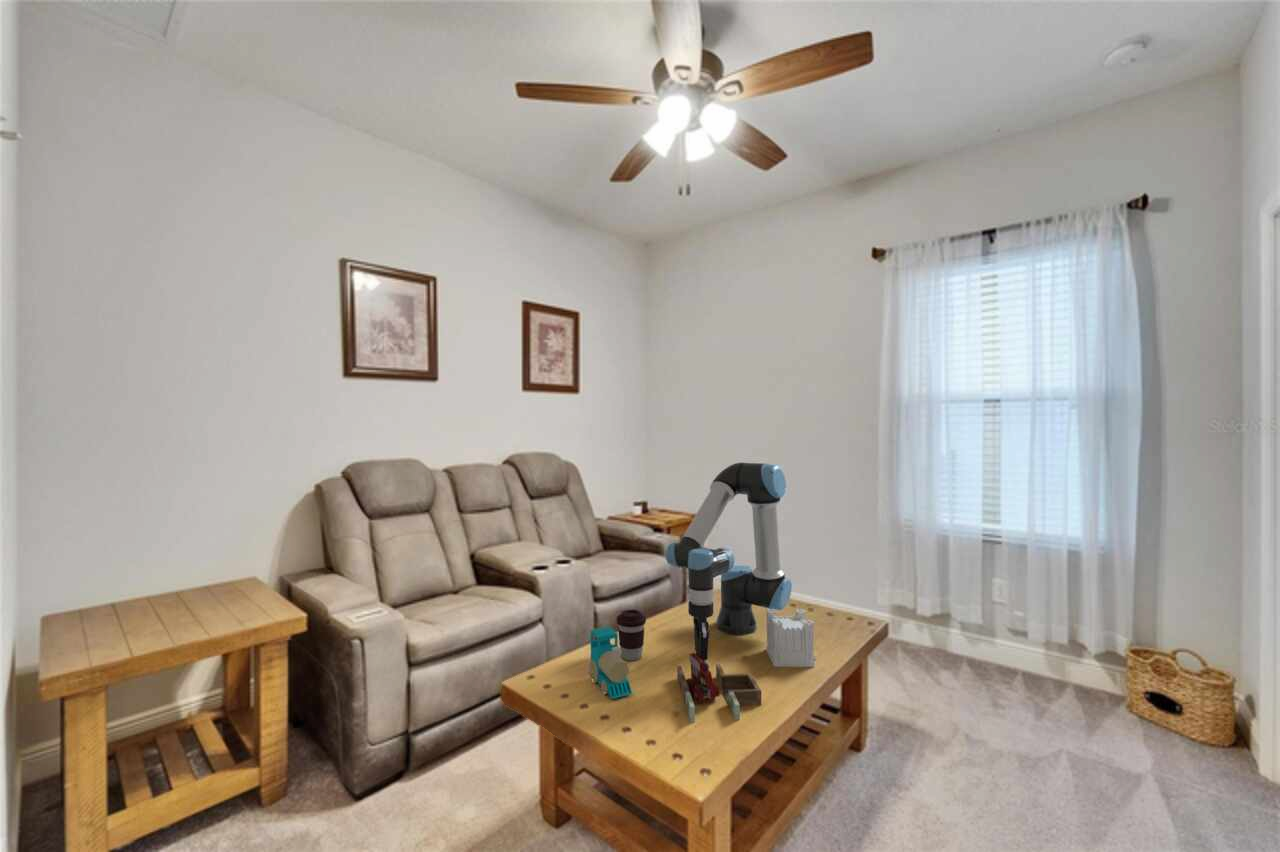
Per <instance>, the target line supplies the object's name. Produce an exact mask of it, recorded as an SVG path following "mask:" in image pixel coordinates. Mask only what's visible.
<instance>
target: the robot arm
mask: <svg viewBox="0 0 1280 852" xmlns="http://www.w3.org/2000/svg"><path fill="white" fill-rule="evenodd" d="M786 480H787V479H786V477H785V473H784V471H783V469H781V467H780V466H778V465H777V464H770V463H759V462H758V463H756V462H755V463H754V462H736V463H733V464H730V465H729V466H727V467H726V468H724V469H723V470H721V472H719V473H718V475H716V476H715V477H714V479H713V480H712V482H711V483H710V486H709V489H710V491H709V493H708V495H707V496H706V497H705V499H704V501H703V502H702V504H701V506H700V507H699V509H698V511H697V512H696V514H695V516H694V517H693V518H692V521H691V522H690V524H689V526H688V527H687V529H686V530H685V532H684V534H683V536H682V537H681V539H680V540H679V542H671V543H669V545H667V547H666V550H665V561H666V562H667V564H668V565H670V566H673V567H676V568H680V569H681V568H683V569H687V570H688V571H687V573H688V574H687V575H688V590H687V591H686V594H687V595H688V606H687V607H688V611H687V612H688V614H689V616H691V617H693V618H692V621H693V631H694V633H693V634H694V635H693V636H694V651H695V654H696V655H697V656H699V657H700V658H701V659H702V660H703V661H704V663H707V660H708V656H709V655H708V652H709V637H710V631H708V630H709V621H708V618H711V617H712V616H714V597H715V595H714V589H715V588H714V578H717V577H718V576H720V601H721V603H720V604H721V605H720V609H719V613H718V615H717V617H716V627H717V629H718V630H719V631H721V632H723V633H727V634H730V635H747V634H751V633H755V632H756V630H757V620H756V617H755V614H754V611H753V607H752V606H757V607H760V608H765V609H770V610H771V609H774V610H775V611H782V610H783V609H785V608H786V606H787V605H788V603H789V601H790V598H791V595H792V587H793V586H792V581H791V580H790V579H789V578H786V576H785V574H786V573H785V570H784V569H783V568H782V567H781V563H780V549H779V548H780V546H779V545H780V544H779V543H780V542H779V530H778V529H779V528H778V527H779V526H778V513H777V512H778V511H777V505H778V504H779V503H780V501H781V498H782V497H784V495H785V493H786V487H787V482H786ZM737 495H746V497H747V503H749V504H750V505H751V509H752V522H753V523H752V524H753V536H754V537H753V539H754V554H755V555H754V556H755V567H754V569H753V568H752V567H751V566H749V565H734V564H735V556H734V554H733V552H732V551H731V550H729V548H726V547H718V548H716V549H711V548H708V547H704V545H705V543H706V542H707V540H708V538H709V537H710V534H711V533H712V531H713V529H714V527H715V526H716V524H717V522H718V521H719V519H720V517H721V515H722V513H724V511H725V508H726V506H727V505H728V503H729V502H731V501H733V500H734V498H735V497H736V496H737Z"/></svg>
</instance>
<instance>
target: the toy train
mask: <svg viewBox="0 0 1280 852" xmlns="http://www.w3.org/2000/svg"><path fill="white" fill-rule="evenodd" d="M594 637H595V638H596V639H594ZM613 639H614V644H612V643H611V640H613ZM618 642H619V632H617V631H615V629H613V628H612V627H611V626H604V627H598V628H593V629H590V662H589V665H588V670H589V671H588V672H589V677H590V679H593V681H594V683H593V684H596V683H598V684H599V686H600V689H601V692H602V691H603V692H604V693H605V695H604V696H607V695H608V696H609V697H610V698H611V700H612V699H617V698H620V697H624V696H625V697H626V696H629V695H633V691H632V688H631V684H630V681H629V680H630V679H629V677H628V675H629V666H628V663H627V662H626V661H625V660H624V659H623V658H622V657H621V650H620V649H621V648H620V646H618V644H619V643H618ZM606 694H607V695H606Z"/></svg>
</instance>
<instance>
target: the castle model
mask: <svg viewBox="0 0 1280 852" xmlns="http://www.w3.org/2000/svg"><path fill="white" fill-rule="evenodd" d="M776 613H777V612H776V610H774V609H769V608H766V646H765V649H766V652H767V654H768V657H769V659H770V661H771V663H772V665H773V667H774V668H776V667H777V668H815V661H816V660H817V656H815V654H814V653H815V651H814V649H815V648H814V643H815V642H814V640H815V639H814V634H815V632H814V630H815V629H814V627H815V626H814V625H815V624H814V622H813V620H812V619H808V620H807V619H806V611H805V610H804V609H803V608H800V609H798V608H795V615H794V616H793V615H789V616H787V615H784V617H783V615H779V617H778V615H777V614H776Z"/></svg>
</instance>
